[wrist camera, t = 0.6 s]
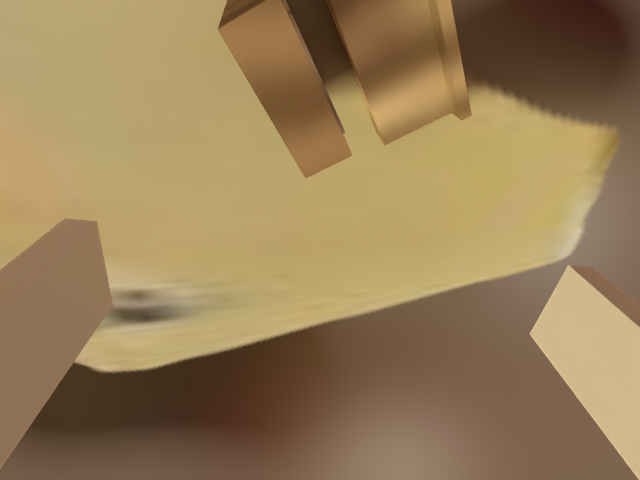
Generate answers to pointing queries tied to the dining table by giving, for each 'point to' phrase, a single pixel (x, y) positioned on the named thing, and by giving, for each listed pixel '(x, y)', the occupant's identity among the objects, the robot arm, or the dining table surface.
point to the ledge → (403, 61)
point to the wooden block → (285, 80)
